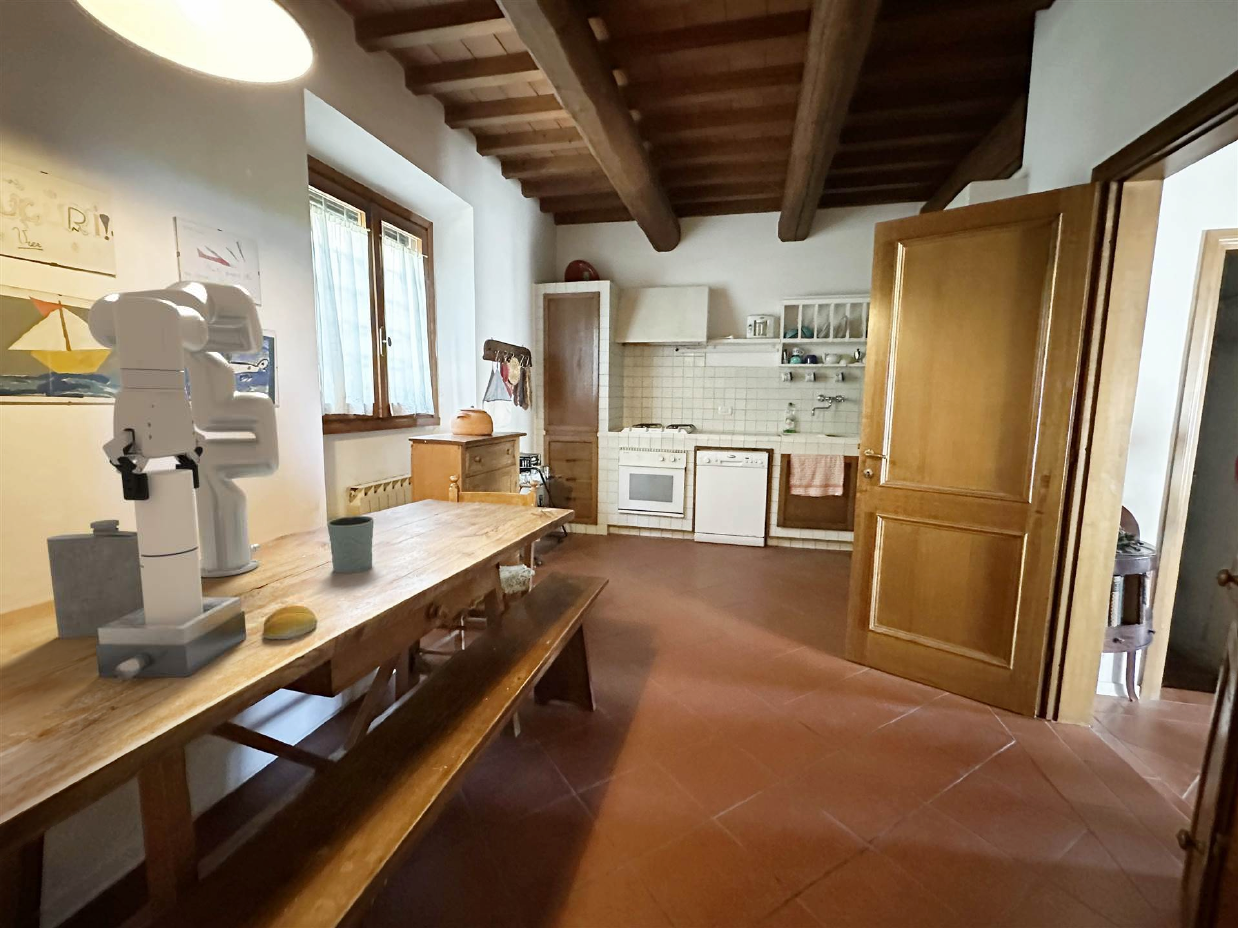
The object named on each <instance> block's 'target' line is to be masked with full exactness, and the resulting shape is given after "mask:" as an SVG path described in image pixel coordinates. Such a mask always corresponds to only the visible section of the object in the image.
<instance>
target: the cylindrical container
mask: <svg viewBox="0 0 1238 928" xmlns="http://www.w3.org/2000/svg"><path fill="white" fill-rule="evenodd" d="M142 473H147V477H148V488H149V499H148V500H133V502H134V513H135V524H136V526H135V527H136V532H137V537H138V547H139V558H140V569H141V580H142V591H143V602H144V613H145V624H146V625H183V624H185V623H187V622H189V621H190V620H192V619H194V618H196V617H198V616H200V615H202V614H203V601H202V597H203V589H202V577H201V575H200V565H201V561H200V554H199V552H200V551H199V540H198V539H199V536H198V523H197V509H196V497H195V489H194V486H193V473H192V470H187V469H175V468H173V469H152V470H143V472H142Z"/></svg>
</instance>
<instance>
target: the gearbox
mask: <svg viewBox="0 0 1238 928" xmlns="http://www.w3.org/2000/svg"><path fill="white" fill-rule="evenodd" d="M202 601H203V614H202V615H200V616H198V617H196V618H194V619H192V620H190V621H189V622H187V623H185V624H183V625H146V624H145V613H144V608H141V609H139V610H137V611H135V612H133V613H130V614H128V615H126V616H124V617H122V618H119V619H117V620H115V621H113V622H111V623H108V624H106V625H104V626H102V627H100V628H98V634H99V635H98V641H99V642H98V643H97V644H96V645H95V650H96V659H97V660H96V661H97V670H98V677H99V678H119V679H121V680H124V681H125V680H130V679H131V678H189V677H191V676H192V675H194V674H195V673H196V672H198V671H200V670H202V669H203V668H205V667H206V666H207V665H209V664H210V663H212V662H213V661H215V660H216V659H217V658H220V657H221V656H222V655H224V654H225V653H226V652H228V651H230V650H231V649H233V648H234V647H236V646H237V645H239V644H240V643H241V642H243V641H244V640H246V639H247V629H246V628H247V627H246V616H245V613H246V612H245V610H242V600H241V597H237V596H236V597H235V596H234V597H232V596H231V597H228V596H227V597H226V596H225V597H222V596H221V597H220V596H219V597H217V596H216V597H215V596H214V597H212V596H208V597H205V596H202Z"/></svg>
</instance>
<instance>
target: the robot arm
mask: <svg viewBox="0 0 1238 928" xmlns="http://www.w3.org/2000/svg"><path fill="white" fill-rule="evenodd" d="M260 321H261V320H260V318H259V313H258V310H257V307H256V304H255V301H254V299H253V297H252V296H251V294H250V293H249V292H248V291H247V289H245V288H244V287H242V286H240V285H238V284H230V283H229V284H228V283H220V282H219V283H218V282H210V281H200V280H180V281H176V282H174V283H172V284H170V285H169V286H167V287H165V288H164V289H161V288H160V289H148V290H140V291H128V292H126V291H125V292H118V293H117V292H116V293H110V294H106V295H105V296H102V297H100V298H98V299H97V300H95V302H94V303H93V304H92V305H91V307H90V308H89V311H88V316H87V326H88V329H89V332H90V334H91V336H92V337H93V339H94V340H95V341H96V342H97V344H99V345H101V346H102V347H104V348H106V349H110V350H116V353H117V361H118V362H117V364H118V373H119V383H120V391H116V394H115V398H114V406H113V417H112V418H113V420H112V421H113V422H112V426H113V431H112V433H113V438H112V439H111V440H109V441H108V442H106V443H104V444H103V446H102V450H103V451H104V454H106V456H107V458H108V459H109V461H108V462H109V464H110V465H111V466H113V467H114V468H115V470H116V471H115V472H116V473H117V474H120V475H121V487H122V494H123V499H124V500H125V501H134V500H148V499H149V488H148V477H147V473H142V472H143V471H145V470H144V469H145V468H146V466H147V465H148V463H149V461H150V460H153V459H154V460H155V459H161V458H169V457H173V458H174V459H175V460H176V461H177V462H178V463H175V465H174V466H175V468H174V469H187V470H192V473H193V486H194V495H195V505H196V517H197V529H198V539H199V540H198V542H199V549H200V551H199V552H200V575H201V578H220V577H221V578H222V577H228V576H235V575H239V574H243V573H246V572H250V571H253V570H254V569H256V568H257V567H258V566H259V565H260V564H259V559H257V558H255V557H253V556H252V555H253V554H254V553H256V552H258V551H260V549H261V545H260V544H259V543H254V544H251V545H250V534H249V533H250V532H249V531H250V530H249V519H248V501H247V495H246V493H245V492H244V490H243V489H242V488H241V487H240V486H239V485H238V484H236V483H235V482H234V480H235V479H244V478H245V479H246V478H247V479H249V478H264V477H271V476H273V475H275V474H276V473H277V472H278V469H279V466H280V465H279V464H280V455H279V454H280V452H279V441H278V440H279V439H278V428H277V427H278V425H277V416H276V415H277V414H276V408H275V405H274V404H275V403H274V402H273V400H272V398H271V397H270V396H269V395H268V394H265V393H262V392H256V391H255V392H252V391H248V392H247V391H243V392H242V391H238V390H237V387H236V373H235V370H234V368H233V366H232V365H231V364H230V363H229V362H228V361H227V360H226V358H224V356H222V355H221V354H232V355H255V354H257V353H258V352H260V351H261V349H262V348H263V345H264V333H263V329H262V325H261V322H260ZM185 369H186V370H185ZM185 371H187V375H188V385H189V395H188V392H187V382H186V372H185ZM189 397H190V398H189ZM195 427H196V428H197V429H198V430H199V431H201V432H206V433H249V434H250V433H251V434H253V435H254V437H247V438H246V437H245V438H244V437H243V438H242V437H241V438H239V437H238V438H236V437H223V438H222V437H221V438H220V437H219V438H218V437H217V438H215V437H214V438H206V437H205V435H204V434H202V433H200V432H198V431H197V430H196V428H195ZM134 461H135V462H134Z"/></svg>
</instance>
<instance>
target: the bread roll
mask: <svg viewBox="0 0 1238 928" xmlns="http://www.w3.org/2000/svg"><path fill="white" fill-rule="evenodd" d="M317 623H318V618H317V617H316V615H315V613H314V611H312V609H310V608H309V607H306V606H303V605H286V606H284V607H283V606H282V607H280V608H278V609H276V610H275V611H273V612H272V613H271V614H270V615H268V616H267V617H266V618H265V620H264V622H263V630H262V635H263V636H264V638H265V639H268V640H274V639H285V640H291V639H296V638H298V637H297V636H299V637H301V636H303V635H306V634H308V633H309V631H310V630H311V631H313V630H314V629H315V628H316V626H317ZM312 629H313V630H312ZM311 631H310V632H311ZM307 632H308V633H307ZM305 633H306V634H305ZM302 634H303V635H302ZM290 638H291V639H290Z"/></svg>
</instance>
